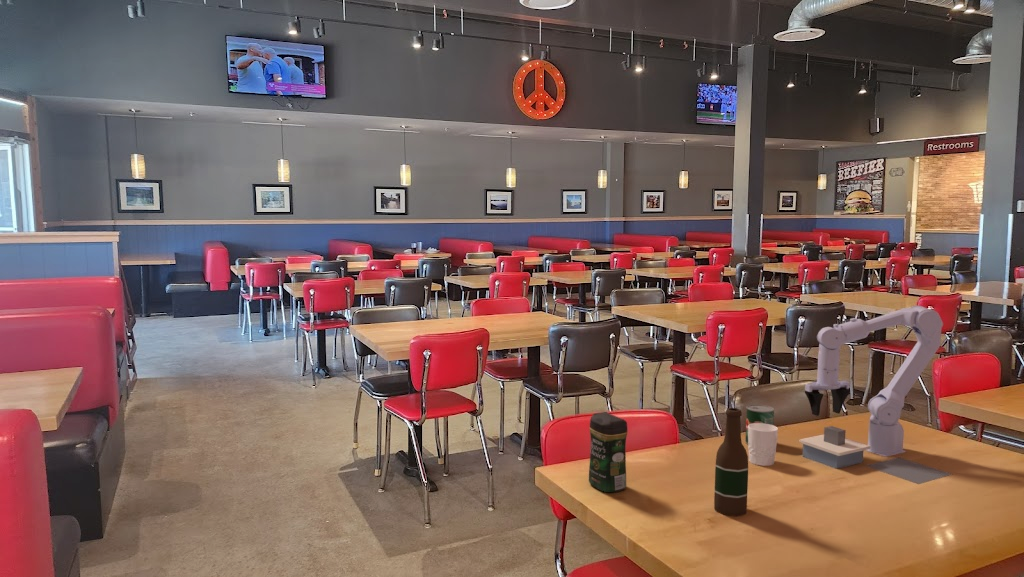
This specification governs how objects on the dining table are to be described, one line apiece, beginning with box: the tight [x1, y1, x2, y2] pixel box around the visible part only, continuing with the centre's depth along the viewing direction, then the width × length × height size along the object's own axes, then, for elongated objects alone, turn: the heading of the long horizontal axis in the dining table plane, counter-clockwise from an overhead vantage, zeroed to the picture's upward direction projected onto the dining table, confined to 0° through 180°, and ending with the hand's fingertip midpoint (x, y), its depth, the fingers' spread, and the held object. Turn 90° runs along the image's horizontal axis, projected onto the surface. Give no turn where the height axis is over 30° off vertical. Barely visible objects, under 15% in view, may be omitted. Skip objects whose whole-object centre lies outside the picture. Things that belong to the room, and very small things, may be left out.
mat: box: [865, 457, 953, 485], centre depth 190 cm, size 15×15×1 cm
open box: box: [802, 444, 865, 470], centre depth 198 cm, size 11×11×4 cm
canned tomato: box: [744, 404, 775, 445], centre depth 212 cm, size 8×8×11 cm
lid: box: [798, 425, 870, 456], centre depth 197 cm, size 13×13×5 cm
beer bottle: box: [713, 407, 749, 517], centre depth 163 cm, size 8×8×24 cm
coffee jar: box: [588, 411, 628, 493], centre depth 177 cm, size 10×8×19 cm
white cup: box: [747, 423, 779, 467], centre depth 196 cm, size 8×8×10 cm
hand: (826, 413), depth 208 cm, fingers open, 7 cm apart
